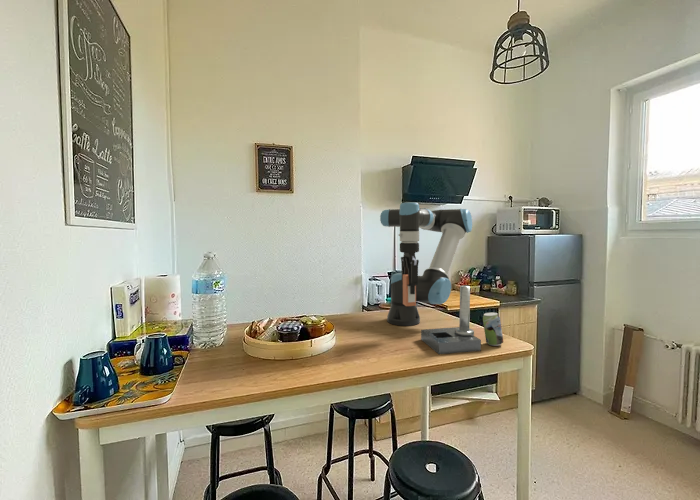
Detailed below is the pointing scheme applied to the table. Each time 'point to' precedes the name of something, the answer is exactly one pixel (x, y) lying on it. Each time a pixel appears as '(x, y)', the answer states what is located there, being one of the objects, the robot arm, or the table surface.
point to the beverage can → (492, 329)
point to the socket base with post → (454, 332)
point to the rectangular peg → (405, 291)
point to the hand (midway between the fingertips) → (409, 300)
